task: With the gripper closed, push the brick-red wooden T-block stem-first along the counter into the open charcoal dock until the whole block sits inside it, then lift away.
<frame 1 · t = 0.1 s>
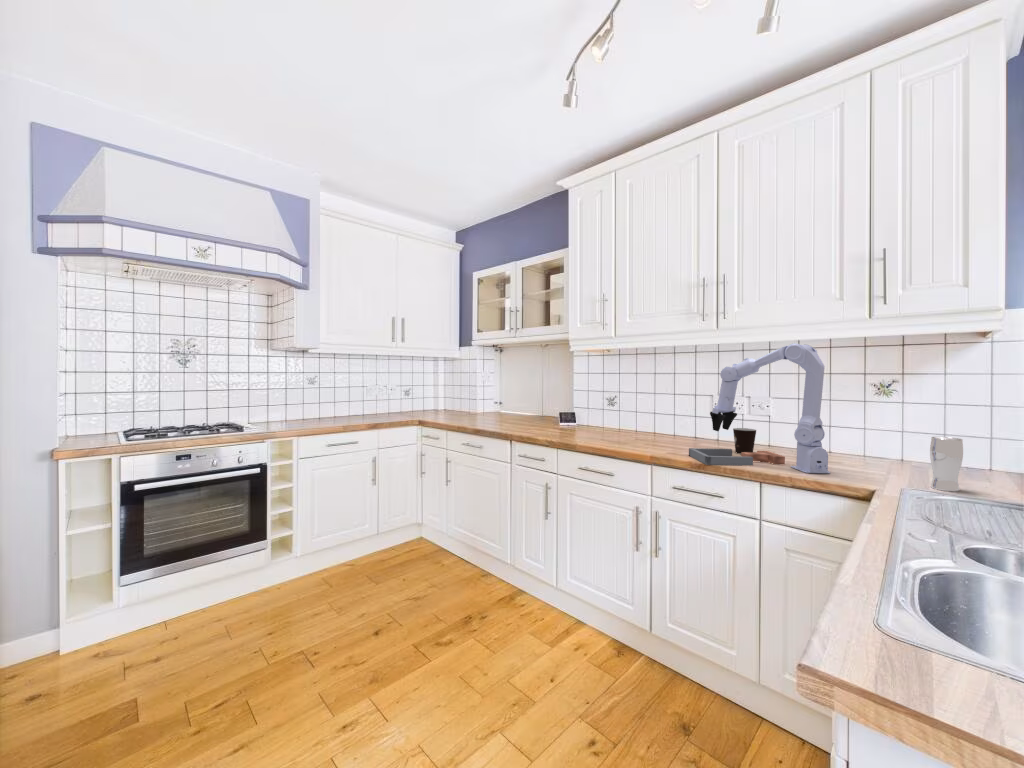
hand: (720, 429, 179), 11 cm above the countertop, tool pointing down, fingers open, 7 cm apart
beer glass: (944, 489, 131), on the countertop
dock: (721, 460, 170), on the countertop
coffee mug: (744, 453, 188), on the countertop
t block: (759, 461, 170), on the countertop
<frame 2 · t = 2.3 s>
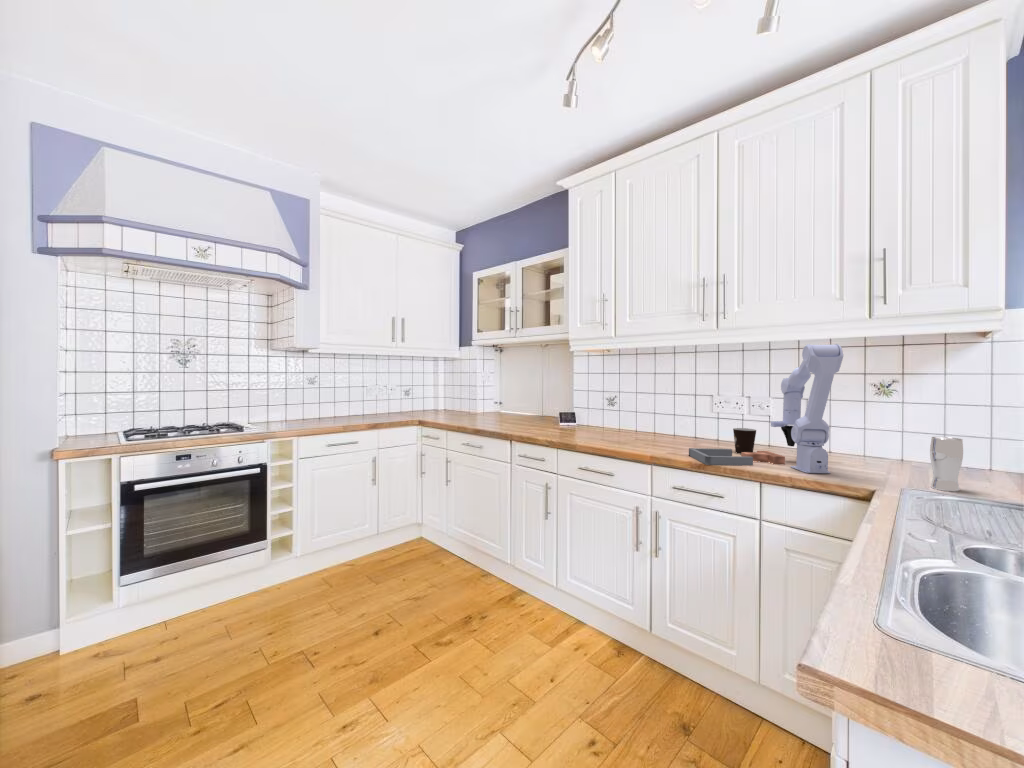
hand: (790, 446, 169), 6 cm above the countertop, tool pointing down, fingers closed
nothing on the countertop moved.
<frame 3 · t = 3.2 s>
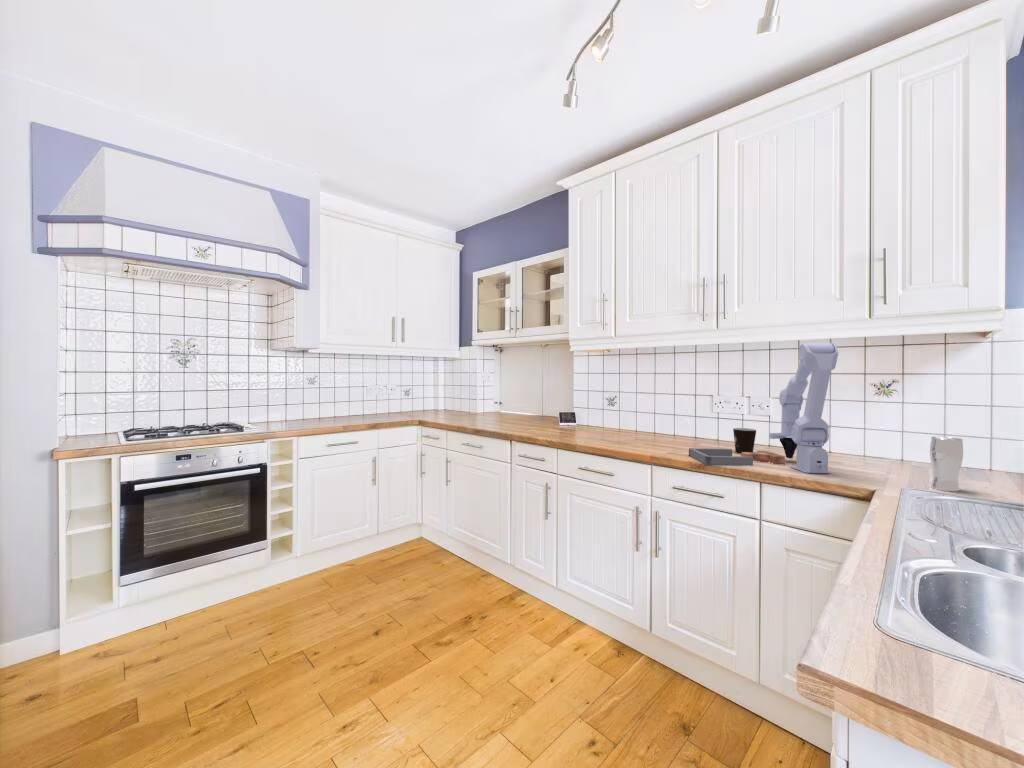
hand: (789, 457, 170), 1 cm above the countertop, tool pointing down, fingers closed
nothing on the countertop moved.
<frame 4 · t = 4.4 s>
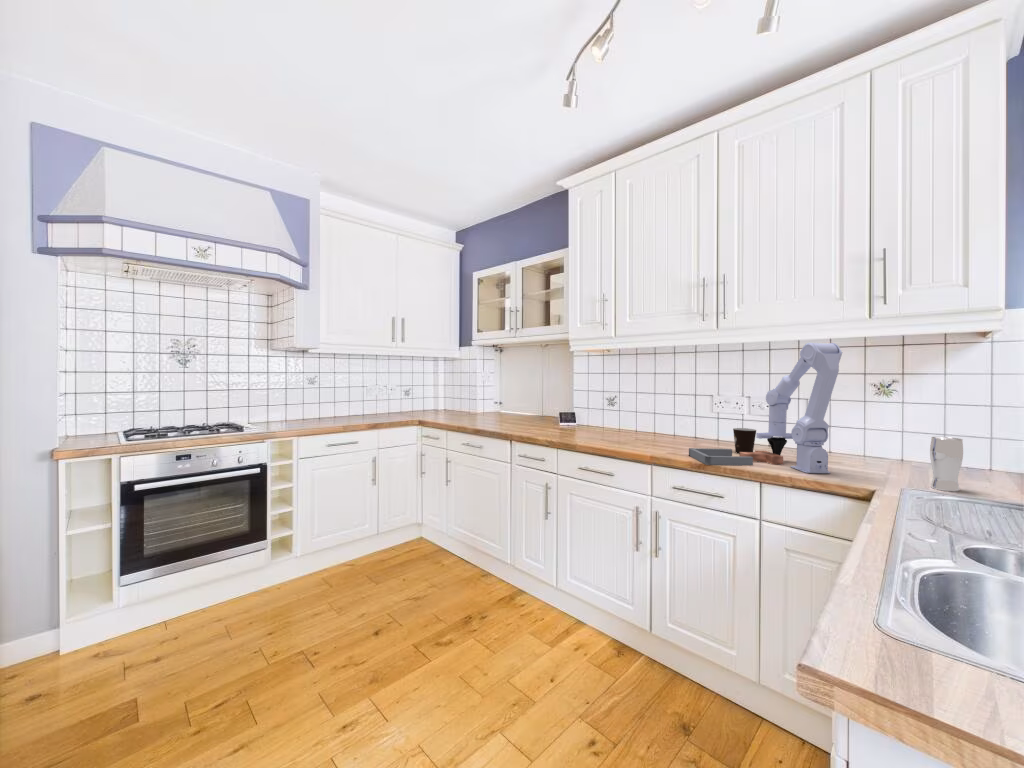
hand: (776, 457, 170), 1 cm above the countertop, tool pointing down, fingers closed
t block: (757, 461, 170), on the countertop, touching gripper
everything else where it was.
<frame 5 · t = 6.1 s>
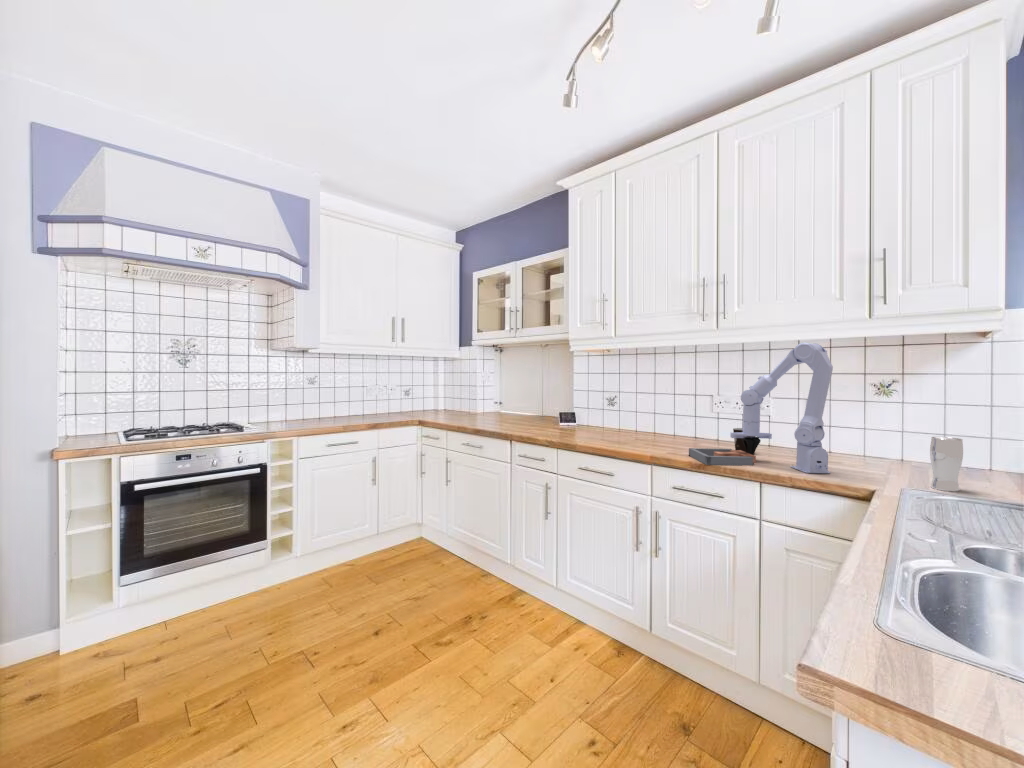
hand: (750, 457, 170), 1 cm above the countertop, tool pointing down, fingers closed
t block: (731, 460, 170), on the countertop, touching gripper
everything else where it was.
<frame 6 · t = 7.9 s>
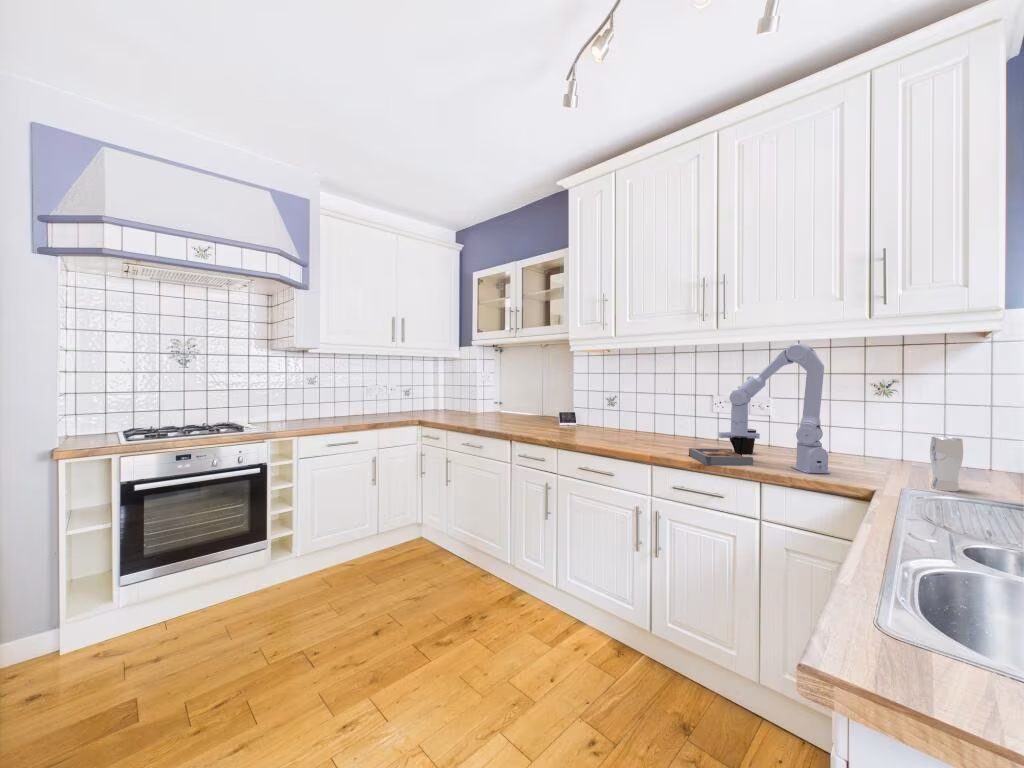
hand: (738, 457, 170), 1 cm above the countertop, tool pointing down, fingers closed
t block: (719, 460, 170), on the countertop
everything else where it was.
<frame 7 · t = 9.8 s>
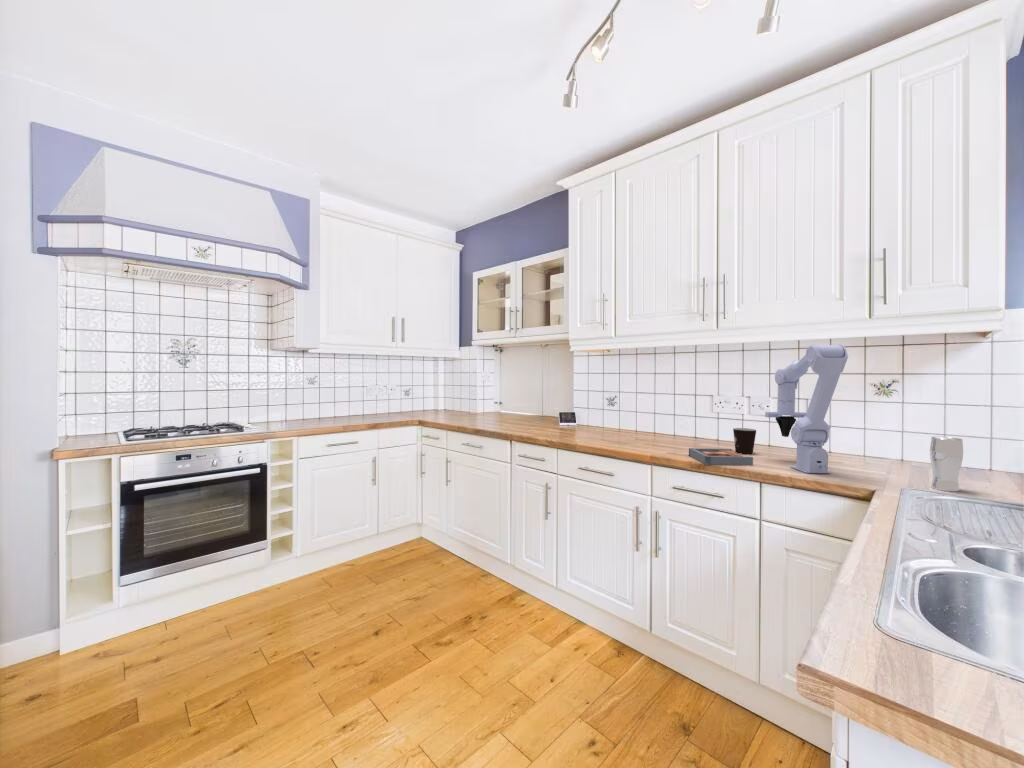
hand: (785, 436, 170), 9 cm above the countertop, tool pointing down, fingers closed
nothing on the countertop moved.
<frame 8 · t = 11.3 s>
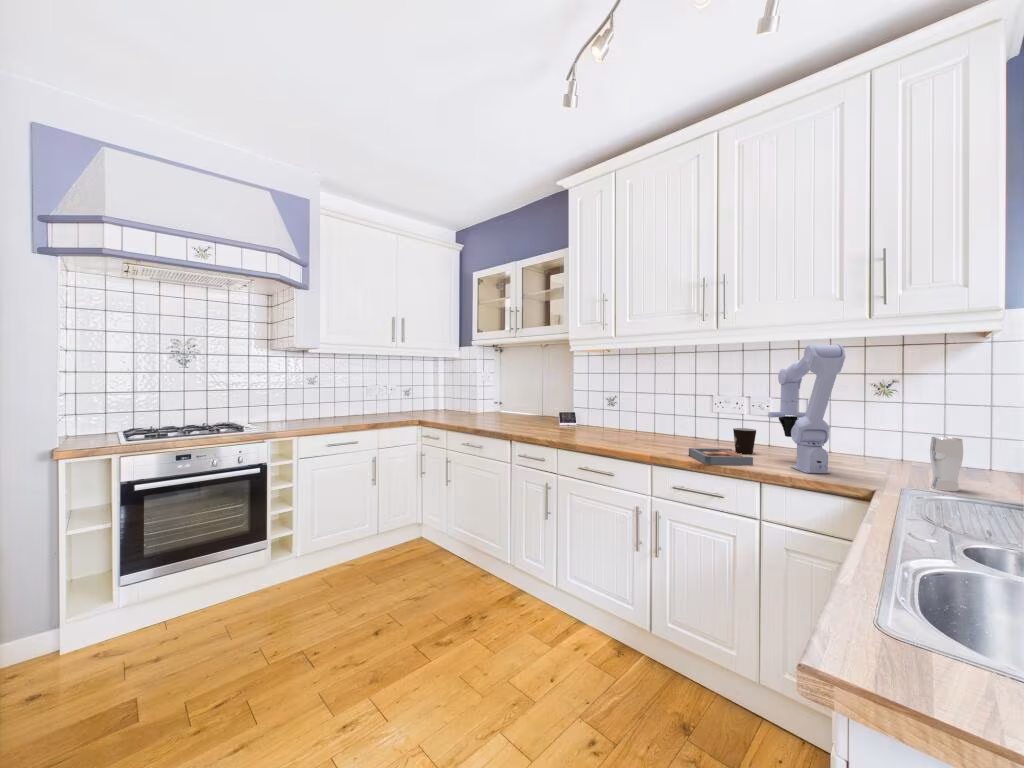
hand: (788, 436, 170), 9 cm above the countertop, tool pointing down, fingers closed
nothing on the countertop moved.
at the end: t block 0.4 cm off-centre on the dock, point 0.0 cm above the dock's base; t block tilted 0°; t block moved 15.1 cm from its start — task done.
